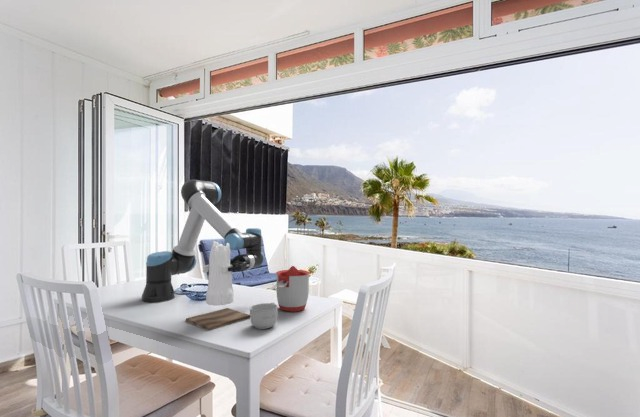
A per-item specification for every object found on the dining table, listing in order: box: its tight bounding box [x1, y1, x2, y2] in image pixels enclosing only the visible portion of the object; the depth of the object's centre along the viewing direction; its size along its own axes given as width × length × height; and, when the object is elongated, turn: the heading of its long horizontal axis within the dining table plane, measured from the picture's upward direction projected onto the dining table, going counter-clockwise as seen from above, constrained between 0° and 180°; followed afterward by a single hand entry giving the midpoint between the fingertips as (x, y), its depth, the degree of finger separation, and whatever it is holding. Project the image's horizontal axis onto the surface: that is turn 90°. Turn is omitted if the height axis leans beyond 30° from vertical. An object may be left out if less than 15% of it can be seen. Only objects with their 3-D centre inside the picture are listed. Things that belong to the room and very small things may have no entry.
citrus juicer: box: [275, 265, 310, 313], centre depth 154 cm, size 16×17×20 cm
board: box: [185, 307, 250, 331], centre depth 137 cm, size 16×20×1 cm
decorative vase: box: [205, 240, 235, 306], centre depth 137 cm, size 11×11×25 cm
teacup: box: [249, 302, 278, 330], centre depth 131 cm, size 14×11×8 cm
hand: (213, 269), depth 133 cm, fingers closed on decorative vase, 8 cm apart
